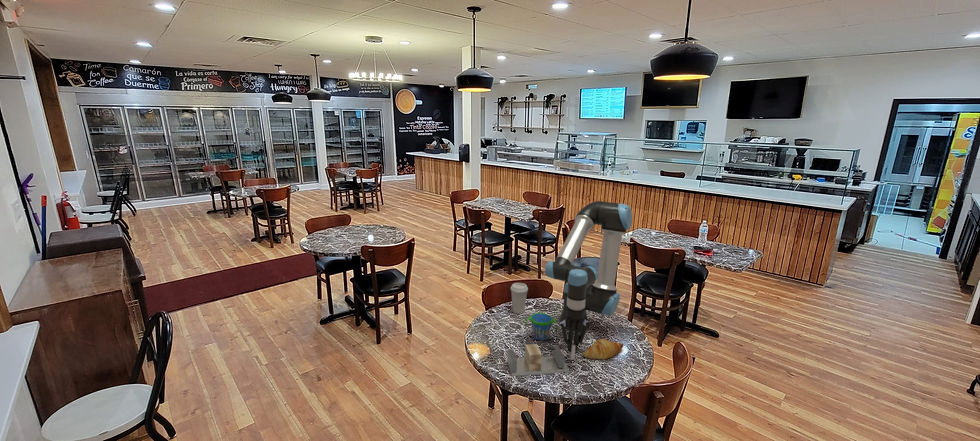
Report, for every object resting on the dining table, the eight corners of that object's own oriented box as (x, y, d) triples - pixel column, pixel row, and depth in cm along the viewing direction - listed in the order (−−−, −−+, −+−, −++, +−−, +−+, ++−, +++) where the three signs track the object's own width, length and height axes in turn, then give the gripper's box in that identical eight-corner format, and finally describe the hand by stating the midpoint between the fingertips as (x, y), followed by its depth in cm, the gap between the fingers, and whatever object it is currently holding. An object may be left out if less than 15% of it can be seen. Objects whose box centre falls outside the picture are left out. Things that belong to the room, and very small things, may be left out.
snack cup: (557, 333, 200) (559, 314, 197) (556, 344, 190) (557, 324, 187) (526, 329, 203) (527, 310, 200) (523, 340, 193) (523, 320, 190)
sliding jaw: (560, 352, 180) (560, 342, 178) (568, 367, 169) (569, 356, 168) (546, 353, 179) (547, 343, 178) (554, 368, 168) (555, 357, 167)
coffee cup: (530, 311, 223) (531, 285, 219) (519, 316, 216) (520, 290, 212) (517, 305, 229) (518, 280, 225) (506, 311, 222) (506, 285, 219)
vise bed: (561, 358, 178) (561, 355, 178) (568, 372, 169) (568, 368, 169) (507, 362, 175) (507, 359, 175) (511, 376, 165) (511, 373, 165)
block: (536, 358, 175) (536, 344, 174) (540, 369, 168) (541, 354, 166) (524, 359, 175) (525, 344, 173) (529, 370, 167) (529, 355, 165)
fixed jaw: (512, 359, 175) (512, 349, 173) (516, 371, 166) (516, 361, 165) (507, 359, 174) (507, 349, 173) (511, 372, 166) (512, 361, 164)
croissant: (585, 368, 178) (592, 359, 172) (575, 348, 184) (580, 338, 179) (625, 358, 185) (632, 348, 180) (613, 339, 192) (619, 329, 187)
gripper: (587, 302, 172) (583, 352, 178) (557, 303, 170) (554, 353, 176) (594, 310, 165) (589, 361, 170) (563, 311, 163) (559, 363, 169)
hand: (571, 357), depth 173 cm, fingers closed
